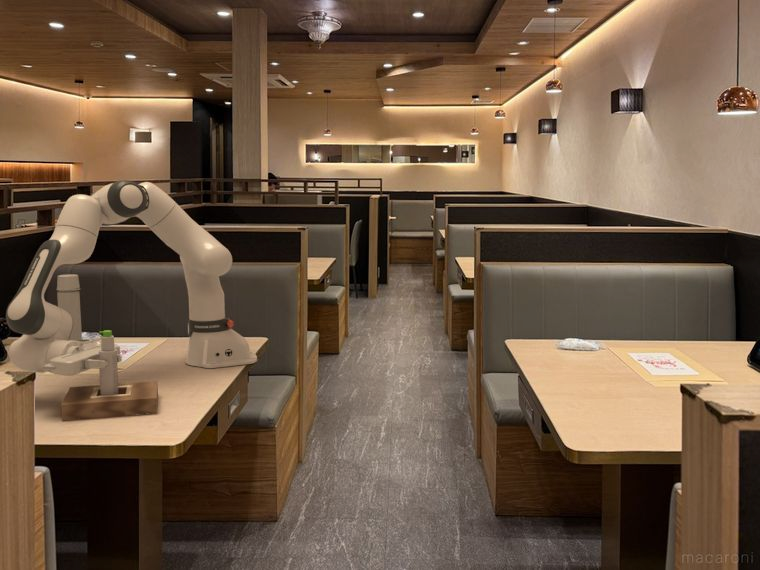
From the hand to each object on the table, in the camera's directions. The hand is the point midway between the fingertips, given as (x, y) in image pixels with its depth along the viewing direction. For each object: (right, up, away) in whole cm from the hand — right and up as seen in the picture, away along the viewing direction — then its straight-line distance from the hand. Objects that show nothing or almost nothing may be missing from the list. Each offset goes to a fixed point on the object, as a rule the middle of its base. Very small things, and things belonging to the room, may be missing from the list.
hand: (113, 361), depth 187 cm
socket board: (-1, -12, +2) cm, 12 cm away
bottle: (-2, -12, +2) cm, 13 cm away
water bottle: (-40, -2, +72) cm, 83 cm away
